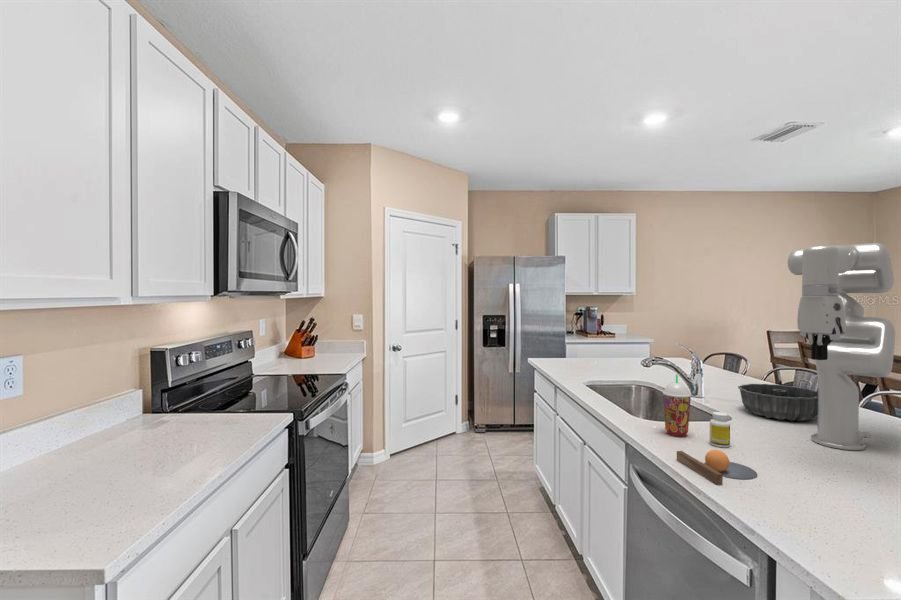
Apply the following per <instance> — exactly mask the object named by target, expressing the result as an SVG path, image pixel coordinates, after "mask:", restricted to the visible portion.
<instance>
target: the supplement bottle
mask: <svg viewBox="0 0 901 600" xmlns="http://www.w3.org/2000/svg"><path fill="white" fill-rule="evenodd" d="M728 418H729V417H728V413H726V412H720V411H713V412H712V418H711V419H710V420H709V444H710V445H712V446H714V447H716V448H717V447H719V448H729V447H730V446H731V423H730V421H729V420H728Z"/></svg>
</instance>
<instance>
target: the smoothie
mask: <svg viewBox="0 0 901 600" xmlns="http://www.w3.org/2000/svg"><path fill="white" fill-rule="evenodd" d="M691 396H692V394H691V393H690V391H689V388H687V387H686V386H685V385H684V384H682V383H681V382H679V374H675V382H672V383H669V384H668V385H667V386H666V387H665V389H664V390H663V391H662V398H663V399H662V400H663V413H664V414H663V415H664V425H665V426H664V429H665V431H666V433H667V434H668V435H670V436H673V437H677V436H678V437H682V438H683V437H686V436H687V433H688V432H689V425H690V424H689V423H690V412H691V411H690V410H691V398H692V397H691ZM678 437H677V438H678Z"/></svg>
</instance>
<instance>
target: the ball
mask: <svg viewBox="0 0 901 600" xmlns="http://www.w3.org/2000/svg"><path fill="white" fill-rule="evenodd" d="M704 461H705V462H706V464H707V466H709V467H711V468H712V469H714V470H716V471H717V472H722V471H725V470H726V469H727V468H728V467H729V462H730V459H729V457H728V455H727V454H726V453H725V452H723V451H721V450H718V449H711V450H709V451H707V452H706V454H705V456H704ZM705 462H704V463H705Z"/></svg>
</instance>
